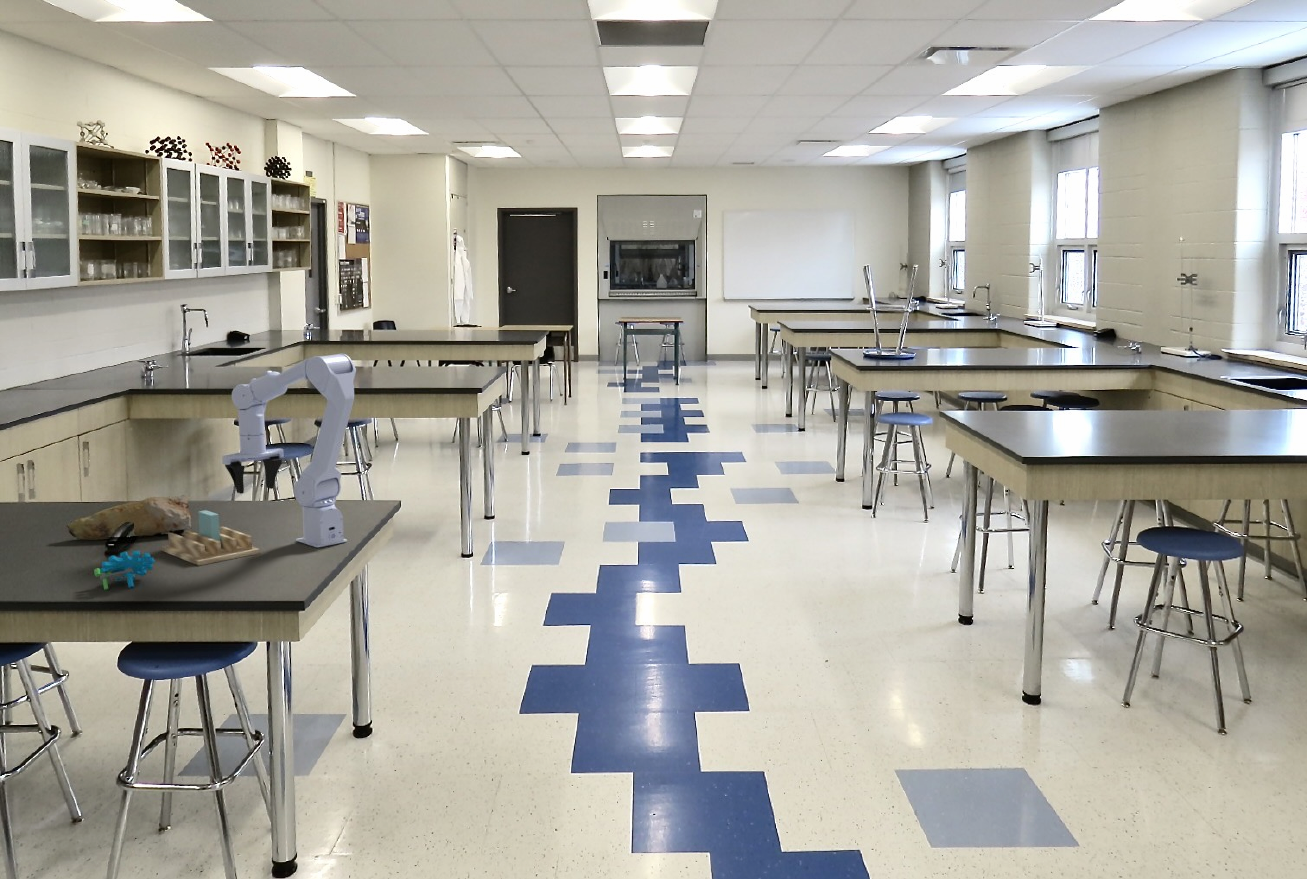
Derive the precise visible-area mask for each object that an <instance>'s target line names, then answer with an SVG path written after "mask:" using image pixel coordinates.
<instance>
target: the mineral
mask: <svg viewBox="0 0 1307 879" xmlns="http://www.w3.org/2000/svg"><path fill="white" fill-rule="evenodd" d="M191 518H192V517H191V512H190V508H189V501H188V499H187V497H186V495H184V494H181V495H179V496H171V497H170V496H164V497H161V496H150V497H147V498H145V499H143V500H142V499H141V500H139V501H129V502H126V503H123V504H120V505H115V506H111V507H110V508H105V509H103V510H101V511H98V512H95V513H93V514H92V515H90V516H86V517H83V518H81V517H78V518H76V519H75V520H74V521H71V522H68V523H67V524H66V527H67V530H68V533H69V534H70V535H71V536H72V537H74V538H76V539H80V540H85V541H86V540H88V541H100V540H106V539H109V538H108V537H109V536H110V535H111V534H112V533H114V532H115V530H116V529H117V528H118V527H120V526H121V525H122V524H124V523H125V522H134V534H135V535H137V536H139V537H144V536H150V537H151V536H154V535H158V534H161V535H168V533H171V532H170V531H172V533H174V532H176V531H182V530H188V529H192V527H193V526H192V525H191Z"/></svg>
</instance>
